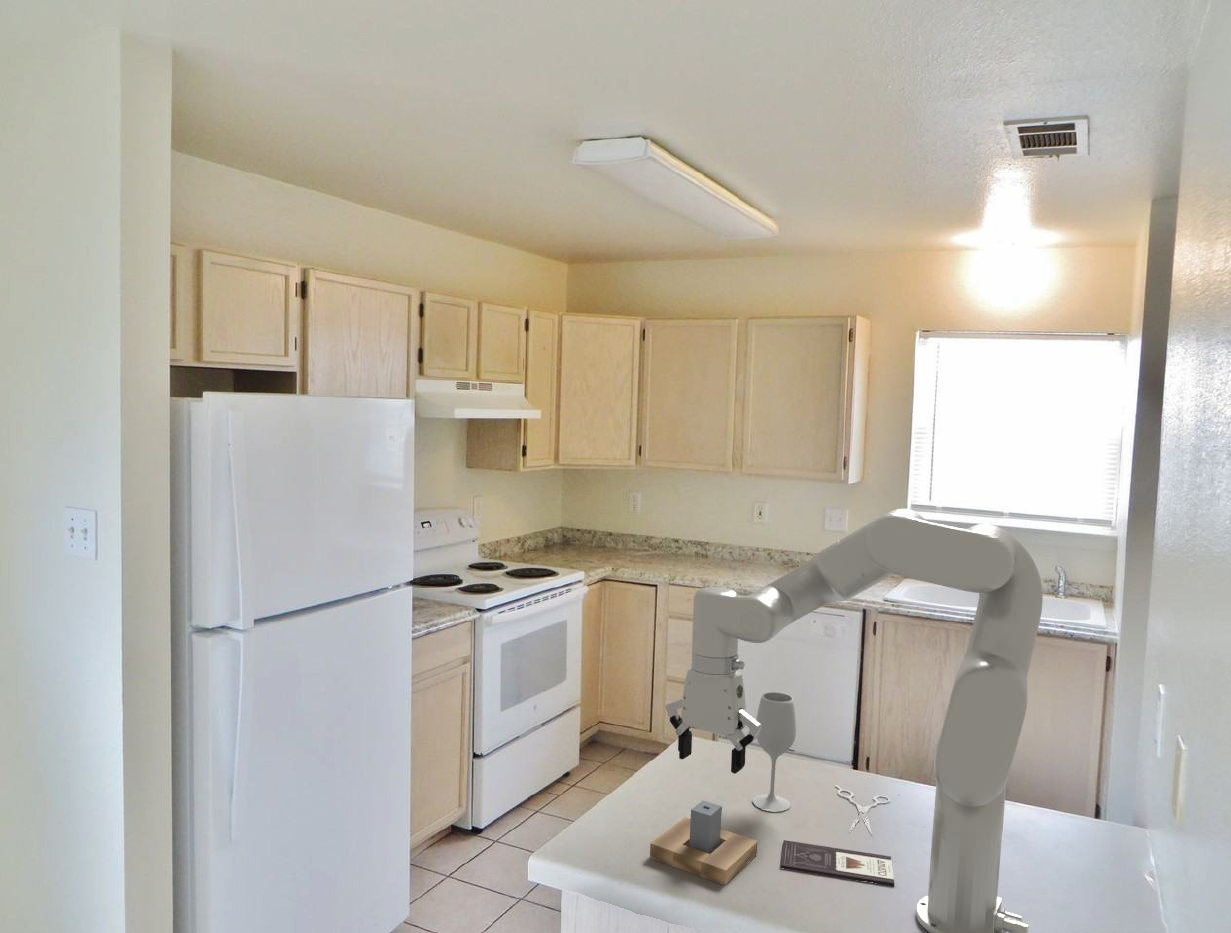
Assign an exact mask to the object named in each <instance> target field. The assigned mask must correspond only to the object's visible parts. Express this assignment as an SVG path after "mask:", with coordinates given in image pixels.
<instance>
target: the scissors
mask: <svg viewBox="0 0 1231 933" xmlns="http://www.w3.org/2000/svg"><path fill="white" fill-rule="evenodd" d="M834 787H835V788H836V789H837V791H836V792H837V793H836V794H837V795H838V796H839V798H843V799H845V800H847V801H849V803H851V804H853V805H854V806H856V809H858V810H857V812H858V811H859V812H861V813H862V814H864V815H865V814H866V813H867V814H868V813H869V811H870V810H869V809H872V808H877V805H887V804H889V803H891V798H890V797H888V796H886V795H881V794H880V795H875V796H873V797H872V800H873V801H874V803H872V804H870V805H866V806H865V805H864V806H862V805H860V804H858V803H857V802H855V801H854V800H853V799H852V798H854V797H855V794H854V792H852V791H850V790H848V789H843V788H841V786H839V784H835V786H834ZM842 793H847V794H849V795H844V794H842ZM879 798H883V799H886V800H887V801H879V800H878V799H879ZM868 810H869V811H868ZM859 812H858V813H859ZM862 814H861V815H862ZM864 815H863V816H864ZM867 817H868V816H867ZM867 817H866V818H867ZM866 818H865V820H866ZM863 819H864V818H863ZM863 819H862V820H863ZM865 820H864V821H863V823H864V822H865ZM854 821H856V823H857V822H858V820H857V819H856V820H855V819H854V820H853V822H852V825H851V827H850V828H849V831H848V833H850V832H851V831H853V829H854V828H856V826H855V822H854ZM864 825H865V826H866V828H867V830H868V831H869V833H870V834H871V835H870V836H873V833H872V830H871V825H870V820H869V818H868V819H867V820H866V822H865V823H864ZM852 827H853V828H852ZM850 830H851V831H850Z"/></svg>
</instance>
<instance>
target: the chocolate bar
mask: <svg viewBox="0 0 1231 933" xmlns="http://www.w3.org/2000/svg"><path fill="white" fill-rule="evenodd" d="M781 853H782V854H781V860H780V862H781V863H780V869H781V868H784V869H783V870H787V869H789V870H788V871H793V870H794V872H799V873H808V874H812V875H818V876H819V875H820V876H826V877H831V878H838V879H842V880H849V881H850V880H851V881H855V880H858V881H857V882H861V881H867V882H866V883H868V882H873V883H872V884H874V883H877V884H876V885H880V884H881V885H882V886H886V887H887V886H888V887H893V888H894V887H895V877H894V871H893V870H894V869H893V862H892V856H890V855H883V854H876V853H871V852H864V851H858V850H857V851H856V850H850V849H844V848H837V847H831V846H825V845H818V844H811V843H804V842H801V841H800V842H799V841H792V840H783V844H782V851H781Z"/></svg>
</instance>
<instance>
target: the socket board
mask: <svg viewBox="0 0 1231 933" xmlns="http://www.w3.org/2000/svg"><path fill="white" fill-rule="evenodd" d="M690 821H691V818H689V817H686V816H685V817H683V818H682V819H681V820H679V821H678V822H677V823H675V824H674V825H673V826H671V827H670V828H669V829H667V830H666V831H664V833H663V834H661V835H660V836H658V837H657V838H656V839H654V840H653V841H652V842H651V843H649V844H650V847H649V848H650V849H649V858H650V859H653V860H655V861H658V862H660V863H662V864H666V865H667V866H671V867H673V868H677V869H680V870H682V871H685V872H688V873H690V874H692V875H695V876H698V877H701V878H703V879H706V880H708V881H711V880H712V881H711V882H714V881H715V882H714V883H717V882H718V883H717V884H720V883H721V884H720V885H722V884H724V885H723V886H727V885H728V884H729V883H730V882H731V881H732V880H733V879H734V878H735V877H736V876H737V875H738V874H739V873H740V872H741V871H742V870H743V869H744V868H745V867H746V866H747V865H748V864H749V863H750V862H751V861H752V860H753V859H752V858H753V857H754V856H756V854H757V855H758V844H759V843H758V840H755V839H753V838H750V837H746V836H743V835H741V834H738V833H734V832H731V831H728V830H725V829H722V828H721V835H720V846H719V847H718V848H717V849H715V850H714V851H713V852H712V853H711V854H708V853H705V852H703V851H700V850H697V849H694V848H691V847H689V841H690ZM756 857H757V856H756ZM751 859H752V860H751ZM750 860H751V861H750ZM749 861H750V862H749ZM748 862H749V863H748ZM747 863H748V864H747ZM746 864H747V865H746ZM745 865H746V866H745ZM744 866H745V867H744ZM743 867H744V868H743ZM742 868H743V869H742ZM741 869H742V870H741ZM740 870H741V871H740ZM739 871H740V872H739ZM738 872H739V873H738ZM737 873H738V874H737ZM736 874H737V875H736ZM735 875H736V876H735ZM734 876H735V877H734ZM733 877H734V878H733ZM730 880H731V881H730ZM729 881H730V882H729ZM728 882H729V883H728ZM727 883H728V884H727ZM726 884H727V885H726Z"/></svg>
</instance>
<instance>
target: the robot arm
mask: <svg viewBox="0 0 1231 933" xmlns="http://www.w3.org/2000/svg"><path fill="white" fill-rule="evenodd" d="M894 575H897V576H900V577H905V578H908V579H912V580H916V581H920V582H924V583H929V584H934V585H937V586H942V587H945V588H950V589H954V590H958V591H962V592H969V593H975V594H978V601H977V607H976V609H975V610H976V611H975V614H974V615H975V616H974V618H973V624H972V628H971V633H970V637H969V640H968V644H967V646H966V650H965V654H964V656H963V659H962V661H961V664H959V668H958V669H957V672H956V675H955V678H954V682H953V685H952V690H951V694H950V697H949V701H948V702H949V703H948V706H947V709H946V714H945V718H944V721H943V725H942V728H941V731H940V735H939V738H938V742H937V746H936V750H935V755H934V758H933V772H934V777H935V780H936V785H935V797H934V798H935V799H934V812H933V822H932V823H933V824H932V835H931V849H930V863H929V874H928V875H929V877H928V878H929V879H928V891H927V895H926V896H924V897H923V898H921V899H920V900H919V901H918V902H917V904H916V906H915V907H916V908H915V917H916V919H917V921H918V922H919V924H920V925H921V926H922V928H923V929H924V930H925V931H927V932H928V933H1029V924H1026V923H1024V922H1022V921H1023V916H1022V915H1020V914H1017V913H1014V912H1010V911H1006V909H1005V908H1003V907H1002V901H1003V900H1002V897H999V896H998V894H999V892H998V891H999V876H1000V866H1001V864H1000V863H1001V855H1002V854H1001V851H1002V841H1003V839H1002V838H1003V830H1004V817H1005V806H1006V804H1005V803H1006V792H1007V782H1008V779H1009V775H1010V771H1011V769H1012V765H1013V762H1014V759H1015V754H1016V751H1017V748H1018V747H1017V746H1018V744H1019V739H1020V735H1021V733H1022V728H1023V725H1024V722H1025V719H1026V718H1025V717H1026V713H1027V712H1026V711H1027V708H1028V707H1027V706H1028V674H1029V669H1030V666H1031V660H1032V657H1033V653H1034V650H1035V645H1036V640H1037V635H1038V630H1039V627H1040V624H1041V623H1040V622H1041V617H1042V610H1043V602H1044V600H1043V599H1044V598H1043V597H1044V596H1043V587H1042V586H1043V585H1042V579H1041V576H1040V573H1039V570H1038V567H1037V565H1036V563H1035V560H1034V558H1033V557H1032V556H1031V554H1030V553H1029V551H1028V550H1027V549H1026V548H1025V546H1024V545H1023V544H1022V543H1021V542H1020V541H1019V540H1018V539H1017V538H1016V537H1015V536H1013V535H1012V534H1011V533H1009V532H1008V531H1007V530H1005V529H1003V528H1002V527H999V526H996V525H993V524H987V523H981V524H975V525H973V526H970V527H968V528H960V527H955V526H951V525H950V526H949V525H945V524H941V523H936V522H932V521H931V522H930V521H927V520H926V519H925V518H924V517H923V516H922V515H921V514H920V513H918V512H916V511H914V510H912V509H909V508H898V509H894V510H890V511H888V512H886V513H885V514H882V515H880V516H879V517H877V518H875V519H874V520H872V521H870V522H868V523H867V524H864V525H863V526H862V527H860V528H858V529H857V530H854V531H853V532H851V533H850V534H848V535H846V536H844V537H843V538H840V539H839V540H837V541H835V542H833V543H832V544H829V545H828V546H826V547H825V548H823V549H821V550H819V551H818V552H817V553H815V554H814V555H813V556H812V557H811V558H810V559H808V560H807V561H806V562H805V563H803V564H802V565H800V566H797V568H794V569H793V570H791V571H789V572H787V573H785V574H783V575H782V576H781V577H779V578H777V579H775V580H773V581H771V582H770V583H768V584H766V585H765V586H763V587H761V588H760V589H757V590H755V591H753V592H752V593H751V594H748V595H744V596H739V594H738V592H736V591H735V590H734V589H730V588H728V587H727V588H726V587H718V586H708V587H702V588H699V589H698V590H696V591H695V593H694V596H693V604H692V605H693V606H692V609H693V610H692V635H691V636H692V639H691V640H692V641H691V643H692V644H691V664H690V666H689V667H688V669H687V671H686V672H687V673H686V676H685V681H684V686H683V691H682V698H681V699H677V700H675V701H673V702H669V703H668V704H666V705H665V710H666V713H667V715H668V717H669V722H670V724H671V726H672V727H673V728H674V729H675V734H676V735H677V736H678V738H677V739H678V740H677V741H678V742H677V751H678V759H679V760H685V759H686V758H687V757H689V756H690V755H692V747H693V746H692V745H693V732H692V731H691V730H690V729H691V728H692V729H695V730H698V731H704V732H707V733H711V734H715V735H719V736H723V737H728V738H729V740H730V742H731V744H732V745H733V748H732V750H731V761H730V762H731V763H730V764H731V765H730V772H731V773H732V774H734V775H736V774H737V773H739V772H740V771H741V770H743V768H744V767H745V766H746V749H747V748H746V747H748V745H750V744H751V743H752V742H753V741H755V740H757V738H756V736H757V735H758V733H759V732H760V730H761V728H762V725H761V724H760V723H759V722H757V721H756V719H755V718H753V717H752V716H751V715H750V714H748V712H747V710H746V708H747V707H746V695H745V686H744V680H743V673H742V672H741V671H738V670H744V667H745V662H744V661H743V660H741V659H739V654H738V646H739V640H741V641H744V642H747V643H751V644H764V643H767V642H769V641H770V640H773V638H774V637H776V636H777V634H779V633H780V632H781V631H782V630H783V629H785V628H786V627H788V626H789V625H791V624H792V623H794V622H796V621H798V620H800V619H801V618H803V617H805V616H807V615H809V614H810V613H812V612H814V611H816V610H818V609H820V608H822V607H824V606H827V605H828V604H832V603H834V602H843V601H847V600H849V599H852V598H854V597H855V596H858V595H859V594H861V593H862V592H865V591H866V590H868V589H870V588H872V587H874V586H875V585H877V584H879V583H881V582H882V581H885V580H887V579H888V578H890V577H893V576H894ZM679 709H681V711H680V712H681V715H679V712H678V710H679ZM746 726H747V728H748V729H749V731H748V733H747V734H746V735H745V733H744V731H743V729H745V727H746Z"/></svg>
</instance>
